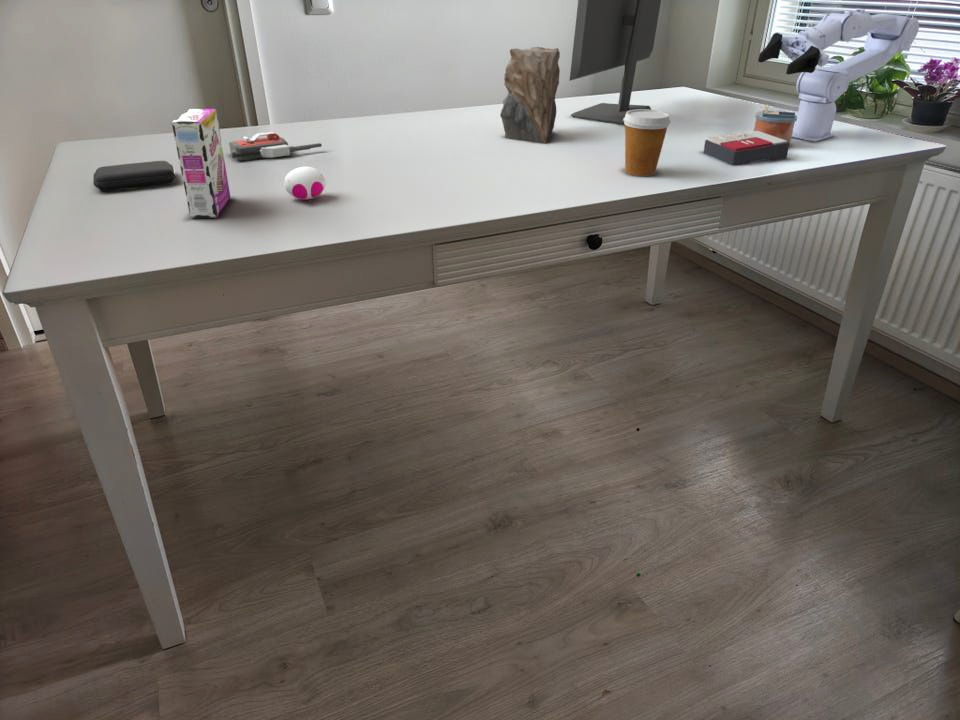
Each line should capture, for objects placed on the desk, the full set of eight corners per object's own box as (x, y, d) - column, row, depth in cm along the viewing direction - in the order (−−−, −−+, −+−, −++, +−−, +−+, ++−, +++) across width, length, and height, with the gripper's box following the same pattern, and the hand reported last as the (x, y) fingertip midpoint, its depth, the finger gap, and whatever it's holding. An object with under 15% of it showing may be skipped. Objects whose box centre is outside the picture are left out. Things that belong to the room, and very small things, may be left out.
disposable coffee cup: (636, 181, 144) (644, 120, 137) (608, 169, 151) (614, 111, 145) (672, 175, 147) (681, 116, 141) (643, 163, 155) (651, 107, 148)
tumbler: (749, 146, 168) (755, 115, 164) (750, 137, 176) (756, 107, 172) (790, 150, 165) (798, 118, 162) (790, 141, 173) (797, 110, 169)
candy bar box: (219, 218, 123) (200, 122, 114) (189, 219, 122) (169, 122, 114) (232, 197, 132) (216, 107, 124) (205, 198, 132) (187, 107, 123)
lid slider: (764, 114, 167) (765, 106, 166) (764, 112, 169) (766, 104, 168) (778, 115, 166) (780, 107, 165) (778, 113, 168) (780, 105, 167)
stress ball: (291, 220, 131) (290, 198, 126) (282, 186, 134) (280, 163, 128) (331, 213, 134) (331, 191, 128) (321, 180, 137) (321, 157, 131)
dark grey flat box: (704, 136, 161) (758, 128, 165) (702, 155, 163) (755, 146, 168) (735, 148, 152) (791, 139, 156) (732, 168, 155) (787, 158, 159)
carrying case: (173, 170, 146) (95, 179, 141) (170, 156, 145) (91, 164, 139) (178, 185, 138) (95, 194, 133) (175, 169, 137) (91, 178, 131)
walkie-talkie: (236, 164, 151) (324, 152, 160) (232, 143, 148) (322, 132, 158) (224, 155, 157) (310, 143, 166) (221, 135, 155) (307, 124, 164)
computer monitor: (619, 99, 214) (636, -53, 193) (669, 106, 206) (692, -51, 185) (545, 126, 184) (555, -51, 163) (601, 135, 176) (619, -49, 155)
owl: (498, 137, 173) (500, 49, 163) (518, 126, 183) (522, 43, 172) (545, 143, 168) (551, 54, 158) (564, 132, 178) (570, 47, 168)
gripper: (791, 14, 162) (751, 35, 158) (846, 34, 154) (806, 57, 150) (783, 43, 168) (745, 65, 163) (836, 65, 160) (797, 88, 156)
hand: (773, 63), depth 157 cm, fingers open, 7 cm apart
